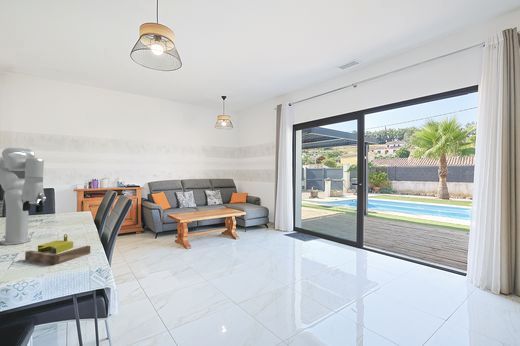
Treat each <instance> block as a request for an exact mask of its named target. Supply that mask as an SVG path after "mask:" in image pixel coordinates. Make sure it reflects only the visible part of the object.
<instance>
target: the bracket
mask: <svg viewBox="0 0 520 346" xmlns="http://www.w3.org/2000/svg"><path fill="white" fill-rule="evenodd" d="M54 248H55V254H59V253H63V252H66V251H70V250H73V248H74V241H69V240H68V235H67V234H66V233H65V234H64V235H63V240H53V241H50V242H46V243H42V244H39V245H37V252H41V251H42V252H45V251H48V250H51V249H54Z"/></svg>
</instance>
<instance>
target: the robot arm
mask: <svg viewBox="0 0 520 346" xmlns="http://www.w3.org/2000/svg"><path fill="white" fill-rule="evenodd" d="M44 165H45V160H44V159H43V158H39V157H35V152H34V151H33V150H32V149H29V148H22V147H21V148H20V147H19V148H18V147H8V148H5V149H4V150H2V151H1V156H0V186H1V189H2V190H3V191H4V192H5V193H4V196H3V197H4V203H5V231H4V234H5V235H3V236H2V238H4V239H3V240H2V241H0V243H1V245H3V246H9V245H11V246H13V245H20V244H25V243H29V242H30V241H32V238H31V237H29V235H28V234H29V232H28V231H29V211H30V210H31V205H34V204H36V205H35V213H36V214H37V213H42V212H44V205H45V202H46V199H47V198H46V196H45V192H44V184H43V183H44V168H45V167H44ZM13 171H15V172H17V171H18V172H24V178H19V177H18V175H16V173H14V172H13Z"/></svg>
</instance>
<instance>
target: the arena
mask: <svg viewBox="0 0 520 346" xmlns="http://www.w3.org/2000/svg"><path fill="white" fill-rule="evenodd" d="M24 253H25V254H24V255H25V256H24V260H25V261H29V262H34V263H41V264H45V265H46V264H47V265H51V266H52V265H53V266H56V265H58V264H61V263H66V262H68V261H71V260H75V259H77V258H81V257H84V256H87V255H90V254H91V245H84V246H81V247H78V248H74V249H73V248H72V249H69V250H66V251H63V252H60V253H57V254H56V253H50V252H45V251H42V252H38V250H37V251H35V250H26V251H25V252H24Z"/></svg>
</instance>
